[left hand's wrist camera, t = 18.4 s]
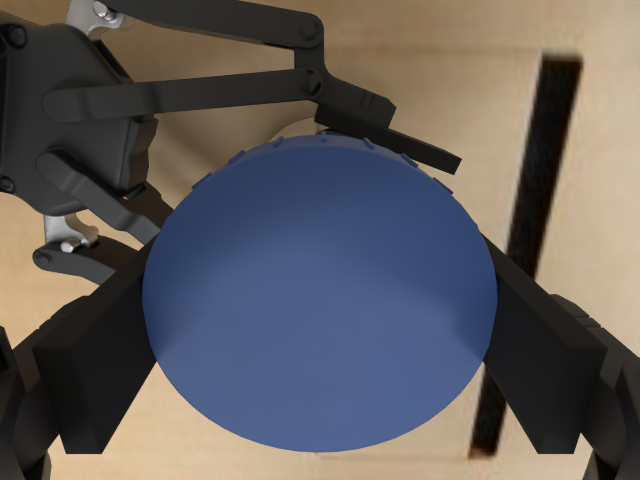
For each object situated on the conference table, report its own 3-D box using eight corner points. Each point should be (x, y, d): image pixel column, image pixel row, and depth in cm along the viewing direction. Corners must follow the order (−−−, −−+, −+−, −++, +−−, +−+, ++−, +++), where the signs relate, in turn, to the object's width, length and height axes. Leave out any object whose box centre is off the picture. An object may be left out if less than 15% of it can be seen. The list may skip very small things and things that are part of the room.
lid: (167, 107, 10) (131, 112, 8) (513, 158, 11) (556, 174, 9) (167, 387, 14) (142, 437, 12) (430, 416, 14) (447, 468, 12)
